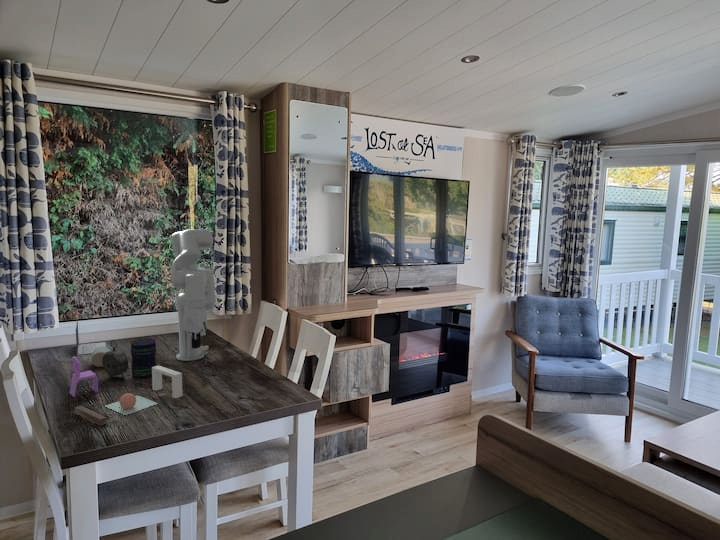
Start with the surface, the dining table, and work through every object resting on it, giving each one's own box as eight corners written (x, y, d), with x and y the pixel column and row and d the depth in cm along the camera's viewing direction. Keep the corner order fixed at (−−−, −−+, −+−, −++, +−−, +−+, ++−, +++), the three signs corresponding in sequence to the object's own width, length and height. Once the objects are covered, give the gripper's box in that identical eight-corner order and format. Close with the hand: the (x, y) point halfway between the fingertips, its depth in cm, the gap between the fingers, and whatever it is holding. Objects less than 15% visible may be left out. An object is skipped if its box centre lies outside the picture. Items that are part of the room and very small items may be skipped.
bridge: (159, 387, 202) (158, 365, 201) (182, 396, 194) (181, 373, 193) (152, 389, 199) (151, 367, 198) (175, 398, 192) (175, 375, 190)
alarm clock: (129, 378, 211) (128, 340, 209) (118, 382, 207) (117, 343, 204) (111, 373, 216) (109, 337, 214) (100, 377, 211) (98, 340, 209)
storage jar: (151, 370, 222) (150, 337, 220) (160, 376, 215) (159, 342, 213) (128, 375, 215) (126, 341, 213) (137, 381, 208) (135, 346, 206)
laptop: (106, 353, 245) (105, 327, 243) (76, 356, 239) (75, 329, 238) (105, 343, 261) (104, 318, 259) (77, 346, 255) (76, 320, 253)
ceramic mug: (91, 368, 222) (90, 351, 221) (92, 363, 229) (92, 346, 228) (118, 366, 226) (117, 350, 225) (118, 361, 233) (118, 345, 232)
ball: (128, 407, 184) (132, 392, 185) (136, 411, 181) (141, 395, 182) (114, 406, 180) (119, 391, 181) (123, 410, 177) (127, 394, 178)
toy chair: (99, 393, 195) (98, 355, 193) (74, 399, 189) (72, 360, 187) (92, 387, 201) (90, 350, 199) (68, 392, 195) (66, 355, 192)
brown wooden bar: (81, 412, 177) (80, 405, 177) (106, 424, 168) (106, 417, 168) (75, 414, 175) (74, 407, 175) (100, 426, 167) (100, 419, 166)
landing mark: (137, 395, 193) (137, 395, 193) (158, 403, 186) (158, 403, 186) (104, 406, 183) (104, 406, 182) (125, 415, 175) (125, 415, 175)
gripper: (175, 302, 205) (176, 346, 208) (199, 308, 197) (200, 353, 199) (191, 299, 211) (191, 342, 214) (215, 305, 203) (215, 349, 206)
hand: (196, 347), depth 207 cm, fingers closed
